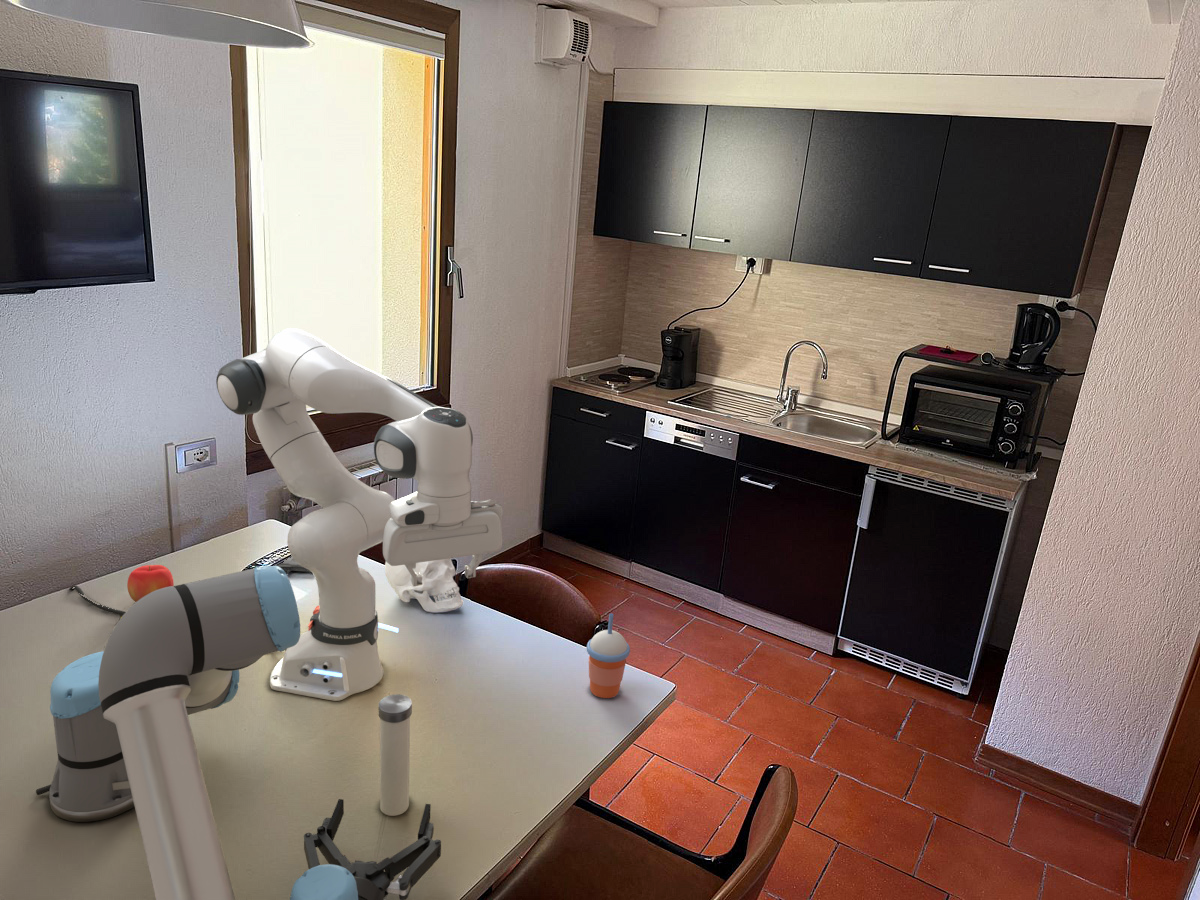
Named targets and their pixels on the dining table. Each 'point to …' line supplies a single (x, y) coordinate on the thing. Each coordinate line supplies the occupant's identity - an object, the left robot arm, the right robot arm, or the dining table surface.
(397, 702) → the lid
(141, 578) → the apple
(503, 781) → the dining table surface
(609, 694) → the cup with straw
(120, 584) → the dining table surface
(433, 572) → the skull
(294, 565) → the handgun
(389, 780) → the white cylinder
